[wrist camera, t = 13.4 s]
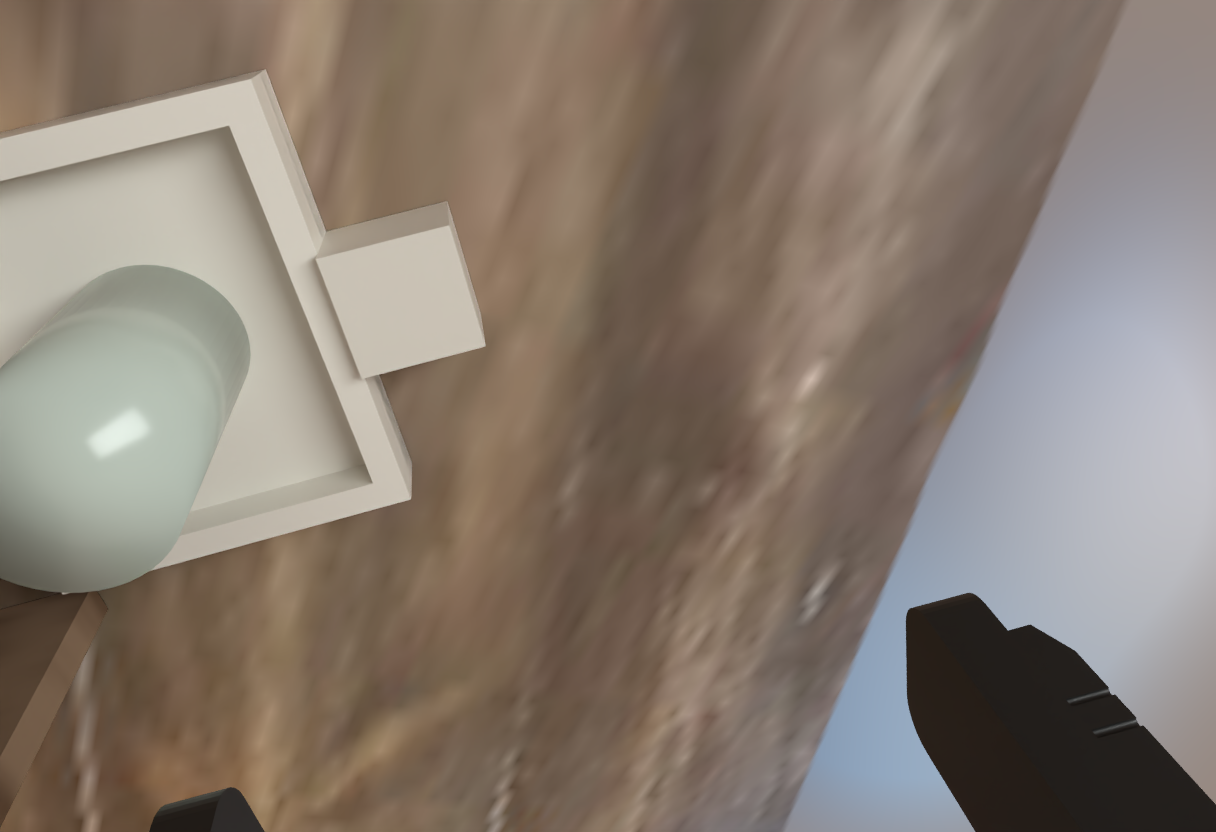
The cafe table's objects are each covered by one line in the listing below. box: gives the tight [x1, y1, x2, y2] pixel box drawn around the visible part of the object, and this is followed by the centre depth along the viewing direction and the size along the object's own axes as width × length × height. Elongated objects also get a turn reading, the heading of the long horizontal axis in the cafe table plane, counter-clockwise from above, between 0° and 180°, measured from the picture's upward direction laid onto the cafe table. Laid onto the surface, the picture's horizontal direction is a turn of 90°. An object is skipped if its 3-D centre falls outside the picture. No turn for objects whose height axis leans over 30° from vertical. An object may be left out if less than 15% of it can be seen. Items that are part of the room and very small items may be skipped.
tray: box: [0, 69, 486, 595], centre depth 28 cm, size 16×14×3 cm
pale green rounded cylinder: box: [0, 265, 251, 593], centre depth 24 cm, size 5×5×9 cm
